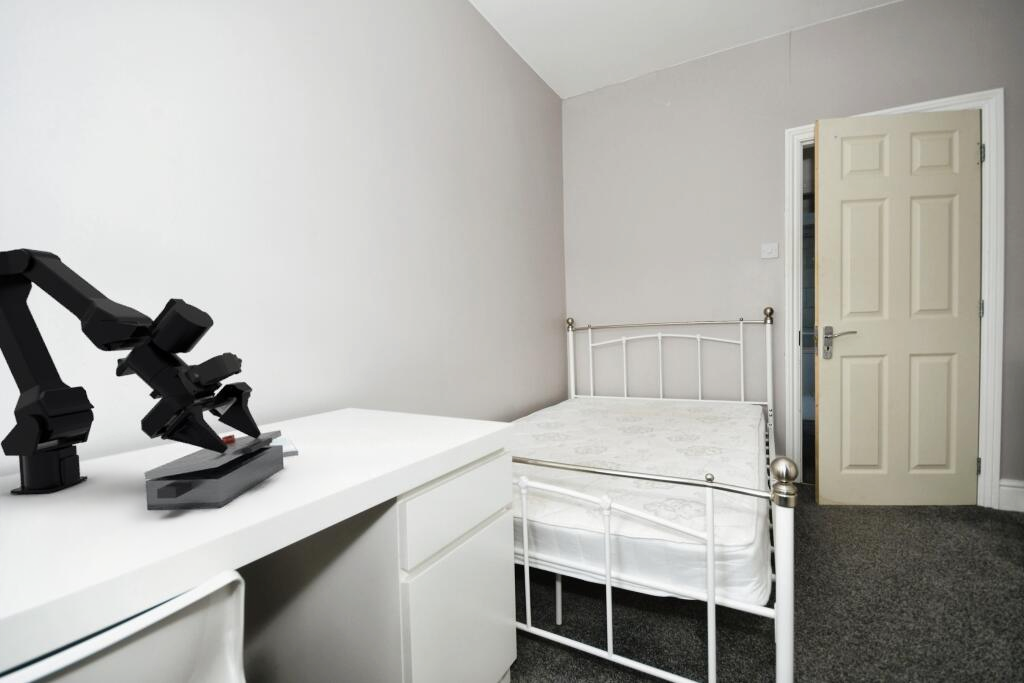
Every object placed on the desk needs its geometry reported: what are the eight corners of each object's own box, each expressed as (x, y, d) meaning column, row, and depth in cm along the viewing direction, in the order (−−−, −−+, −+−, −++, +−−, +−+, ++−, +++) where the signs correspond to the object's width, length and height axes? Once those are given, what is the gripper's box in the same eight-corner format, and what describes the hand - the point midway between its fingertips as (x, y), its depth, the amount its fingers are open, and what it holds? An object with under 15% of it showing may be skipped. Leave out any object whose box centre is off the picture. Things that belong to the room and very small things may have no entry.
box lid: (145, 479, 64) (142, 465, 64) (225, 445, 82) (223, 434, 82) (228, 464, 64) (225, 450, 64) (289, 434, 82) (287, 423, 82)
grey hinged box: (129, 518, 61) (127, 488, 61) (236, 464, 85) (235, 442, 85) (206, 516, 61) (204, 486, 61) (291, 462, 85) (290, 440, 85)
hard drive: (246, 443, 97) (249, 456, 86) (289, 437, 101) (298, 449, 90) (246, 451, 97) (250, 465, 86) (290, 444, 101) (298, 457, 90)
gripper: (157, 338, 63) (243, 417, 63) (238, 335, 82) (304, 396, 82) (102, 398, 63) (188, 476, 64) (195, 382, 82) (261, 442, 82)
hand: (243, 443), depth 73 cm, fingers open, 9 cm apart
